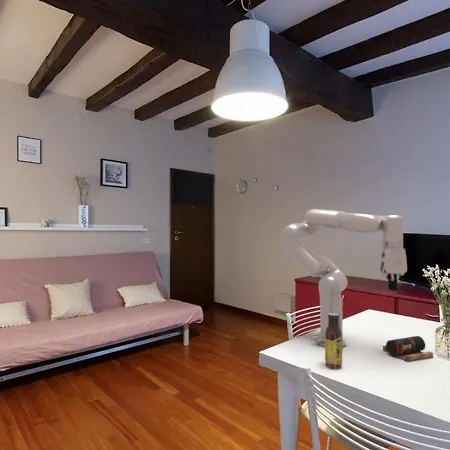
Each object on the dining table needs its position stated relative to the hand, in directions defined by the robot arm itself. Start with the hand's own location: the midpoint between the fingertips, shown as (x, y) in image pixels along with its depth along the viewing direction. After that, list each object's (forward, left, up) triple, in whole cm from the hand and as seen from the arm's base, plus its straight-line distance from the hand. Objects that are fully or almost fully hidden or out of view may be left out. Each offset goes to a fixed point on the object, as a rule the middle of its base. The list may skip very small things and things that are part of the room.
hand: (392, 289), depth 142 cm
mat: (+7, -1, -27) cm, 28 cm away
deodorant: (-1, 0, -24) cm, 24 cm away
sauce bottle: (-29, -1, -27) cm, 40 cm away
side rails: (+7, -1, -27) cm, 28 cm away
